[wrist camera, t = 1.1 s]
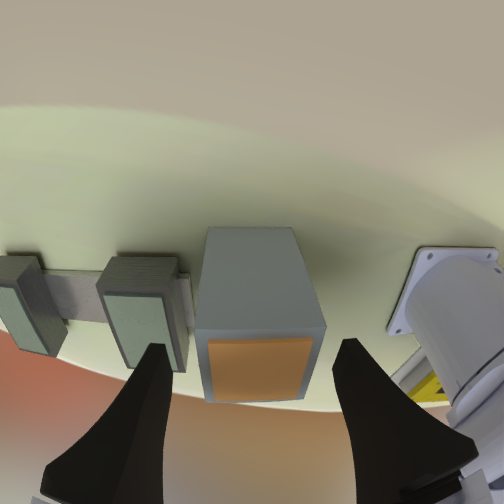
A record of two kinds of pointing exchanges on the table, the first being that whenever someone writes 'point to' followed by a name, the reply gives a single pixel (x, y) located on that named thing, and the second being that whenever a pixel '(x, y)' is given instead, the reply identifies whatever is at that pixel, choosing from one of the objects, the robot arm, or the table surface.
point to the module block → (256, 317)
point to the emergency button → (419, 379)
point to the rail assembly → (99, 305)
